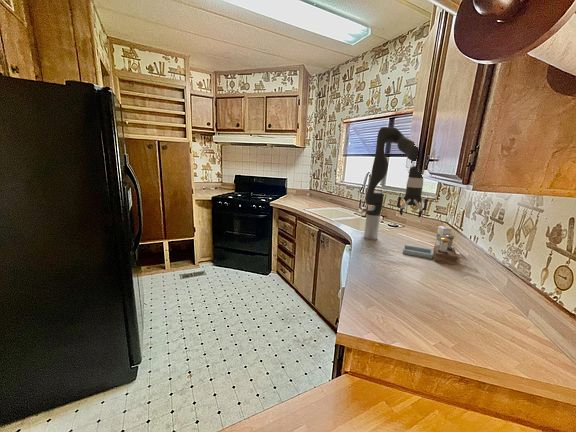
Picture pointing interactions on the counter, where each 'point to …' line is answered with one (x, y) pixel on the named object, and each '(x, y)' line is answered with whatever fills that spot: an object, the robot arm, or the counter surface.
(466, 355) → the counter surface
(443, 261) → the wooden socket block
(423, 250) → the tray
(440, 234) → the syrup box
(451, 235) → the pin
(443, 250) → the pin
